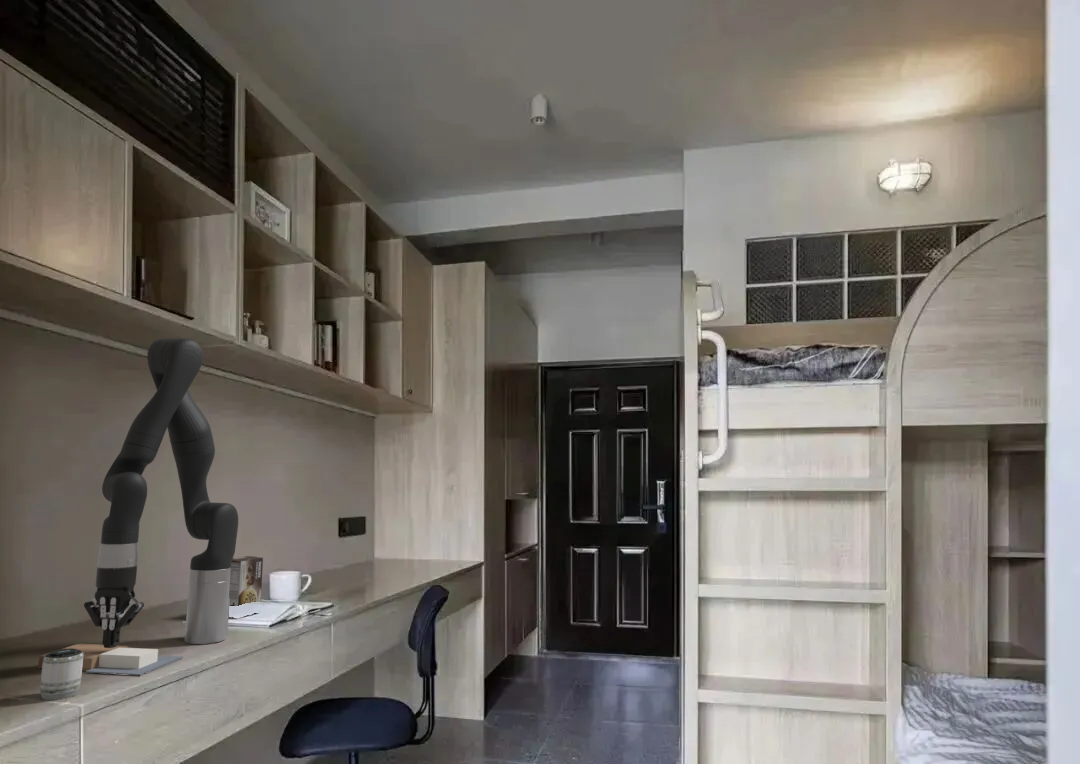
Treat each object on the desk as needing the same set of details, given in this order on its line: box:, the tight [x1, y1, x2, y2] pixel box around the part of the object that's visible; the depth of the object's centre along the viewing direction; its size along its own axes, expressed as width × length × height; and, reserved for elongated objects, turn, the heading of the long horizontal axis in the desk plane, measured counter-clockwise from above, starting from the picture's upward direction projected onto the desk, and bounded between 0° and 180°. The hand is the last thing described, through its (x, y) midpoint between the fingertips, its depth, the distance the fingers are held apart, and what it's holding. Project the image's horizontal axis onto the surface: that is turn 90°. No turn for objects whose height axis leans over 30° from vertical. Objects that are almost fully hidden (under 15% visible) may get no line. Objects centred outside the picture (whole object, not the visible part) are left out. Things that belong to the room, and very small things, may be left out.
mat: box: [84, 654, 184, 676], centre depth 150 cm, size 14×12×1 cm
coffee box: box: [229, 555, 264, 606], centre depth 205 cm, size 9×6×16 cm
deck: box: [37, 643, 130, 670], centre depth 152 cm, size 11×12×2 cm
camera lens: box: [39, 648, 84, 701], centre depth 130 cm, size 6×6×8 cm
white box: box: [98, 647, 159, 669], centre depth 150 cm, size 6×9×2 cm, turn 84°
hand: (110, 647), depth 151 cm, fingers closed
